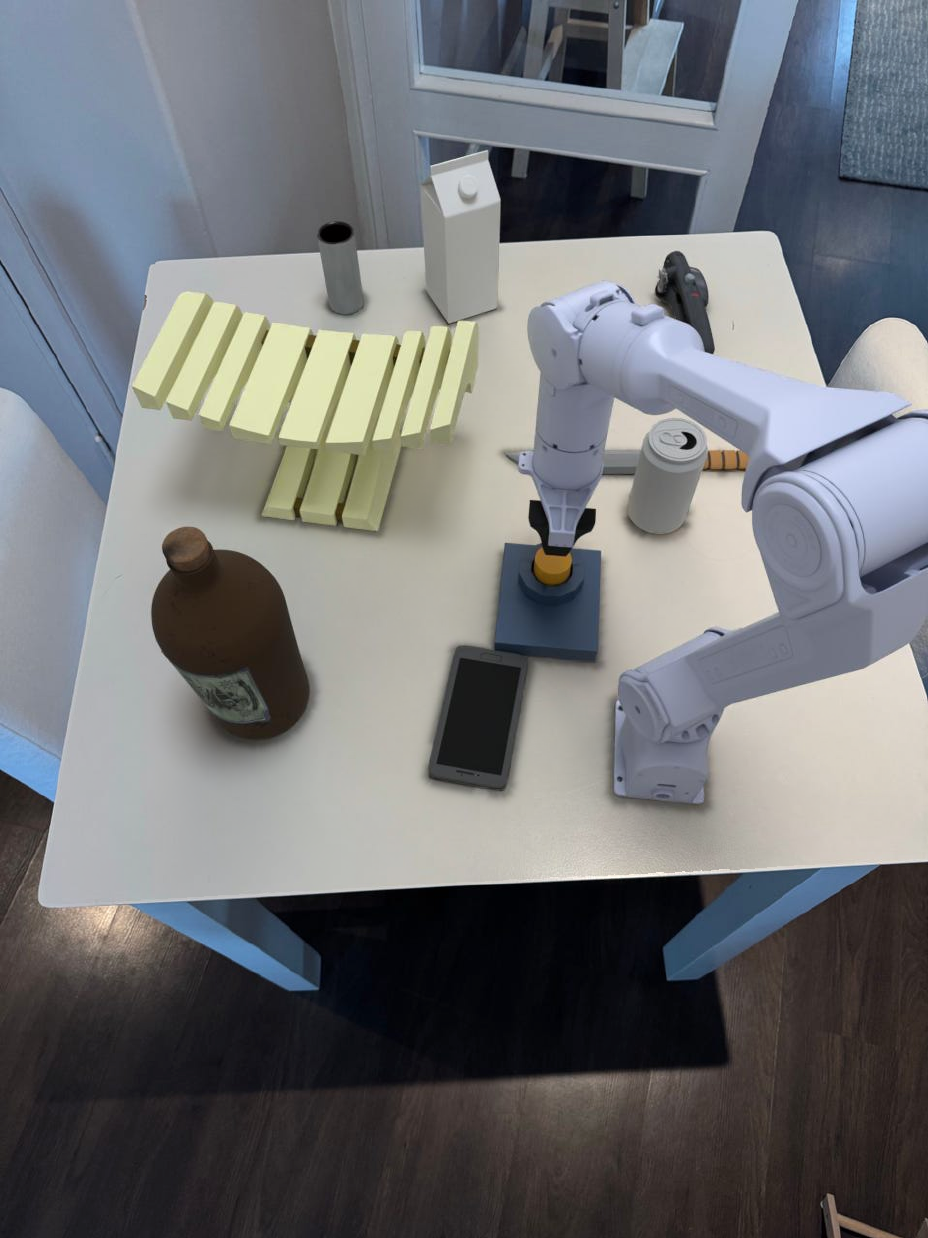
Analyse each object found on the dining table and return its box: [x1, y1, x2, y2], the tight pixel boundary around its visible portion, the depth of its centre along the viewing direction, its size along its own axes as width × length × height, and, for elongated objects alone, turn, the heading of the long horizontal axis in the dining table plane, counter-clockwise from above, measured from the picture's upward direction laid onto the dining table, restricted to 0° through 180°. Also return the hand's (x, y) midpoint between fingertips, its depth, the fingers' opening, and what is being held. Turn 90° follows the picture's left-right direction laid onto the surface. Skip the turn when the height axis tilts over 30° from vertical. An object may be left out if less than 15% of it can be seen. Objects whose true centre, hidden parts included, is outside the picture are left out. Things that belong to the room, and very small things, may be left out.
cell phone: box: [428, 644, 529, 791], centre depth 79 cm, size 7×14×1 cm, turn 169°
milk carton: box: [419, 149, 501, 324], centre depth 102 cm, size 7×7×19 cm
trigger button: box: [534, 547, 572, 586], centre depth 83 cm, size 4×4×2 cm
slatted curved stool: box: [131, 290, 479, 532], centre depth 88 cm, size 30×16×18 cm, turn 80°
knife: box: [504, 449, 749, 475], centre depth 95 cm, size 30×1×5 cm
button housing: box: [493, 542, 602, 663], centre depth 84 cm, size 12×10×4 cm
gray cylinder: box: [316, 220, 365, 315], centre depth 105 cm, size 4×4×10 cm
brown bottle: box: [150, 526, 310, 740], centre depth 70 cm, size 11×11×25 cm
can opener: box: [654, 250, 716, 355], centre depth 104 cm, size 18×7×6 cm, turn 3°
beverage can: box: [627, 417, 709, 535], centre depth 86 cm, size 6×6×12 cm
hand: (557, 529), depth 78 cm, fingers open, 5 cm apart
